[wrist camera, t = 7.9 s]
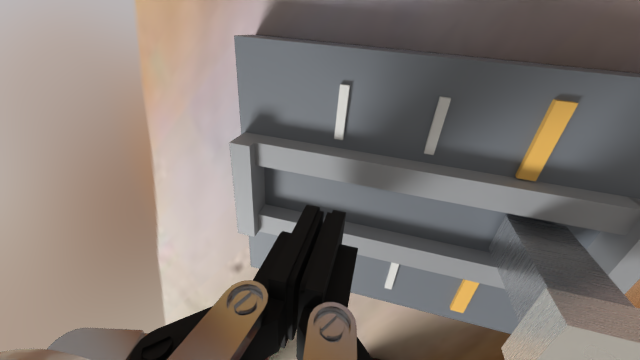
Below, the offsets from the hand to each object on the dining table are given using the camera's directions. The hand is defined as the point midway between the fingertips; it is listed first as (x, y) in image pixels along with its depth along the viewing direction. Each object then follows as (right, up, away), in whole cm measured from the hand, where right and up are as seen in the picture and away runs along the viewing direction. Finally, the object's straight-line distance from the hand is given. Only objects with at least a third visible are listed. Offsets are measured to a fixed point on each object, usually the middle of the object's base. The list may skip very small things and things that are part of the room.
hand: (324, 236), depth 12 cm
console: (+5, +2, +4) cm, 6 cm away
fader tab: (+9, 0, +1) cm, 9 cm away
